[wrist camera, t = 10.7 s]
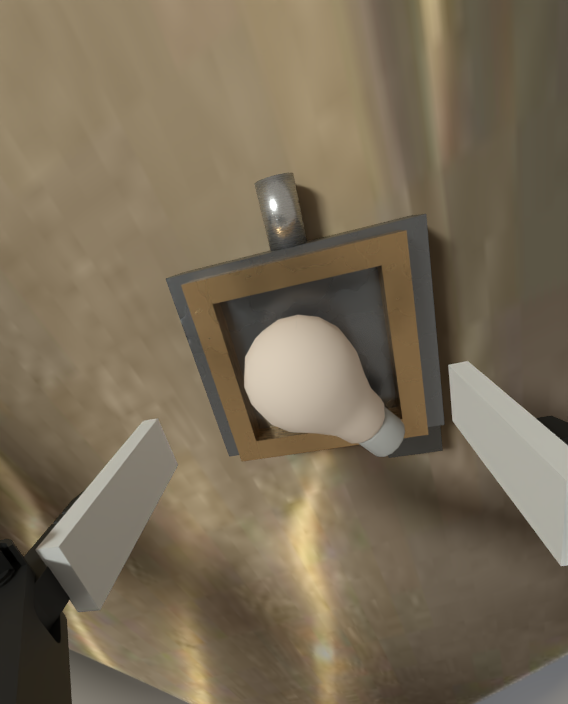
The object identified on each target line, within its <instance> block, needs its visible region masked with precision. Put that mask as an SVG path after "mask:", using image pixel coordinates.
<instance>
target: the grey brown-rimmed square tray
mask: <svg viewBox="0 0 568 704" xmlns="http://www.w3.org/2000/svg"><path fill="white" fill-rule="evenodd" d="M255 189H256V193H257V197H258V201H259V205H260V209H261V213H262V217H263V221H264V225H265V229H266V234H267V238H268V242H269V246H270V250H271V251H267V252H263V253H259V254H255V255H251V256H247V257H243V258H239V259H235V260H231V261H227V262H223V263H219V264H215V265H211V266H207V267H203V268H199V269H195V270H191V271H187V272H183V273H180V274H178V275H175V276H172V277H169V278H166V281H167V284H168V287H169V290H170V292H171V295H172V298H173V301H174V304H175V306H176V309H177V312H178V315H179V318H180V320H181V323H182V326H183V329H184V331H185V334H186V337H187V340H188V343H189V345H190V348H191V351H192V354H193V357H194V359H195V362H196V365H197V368H198V371H199V373H200V376H201V379H202V382H203V385H204V387H205V390H206V393H207V396H208V398H209V401H210V404H211V407H212V410H213V412H214V415H215V418H216V421H217V424H218V426H219V429H220V432H221V435H222V438H223V440H224V443H225V446H226V449H227V452H228V454H229V456H235V455H240V458H241V461H249V460H256V459H263V458H269V457H276V456H283V455H290V454H297V453H304V452H311V451H318V450H325V449H332V448H339V447H346V446H353V445H360V444H359V443H352V444H351V443H349V442H347V441H345V440H343V439H341V438H339V437H337V436H332V435H325V434H315V433H297V432H288V431H286V430H283V429H281V428H279V427H276V426H274V425H272V424H270V423H269V422H268V421H267V420H266V419H265V418H264V417H263V416H262V415H261V414H260V413H259V412H258V411H257V410H256V409H255V408H254V406H253V405H252V404H251V402H250V400H249V397H248V395H247V393H246V390H245V388H244V373H245V356H246V354H247V353H248V351H249V349H250V347H251V345H252V343H253V342H254V340H255V338H256V337H257V336H258V335H259V334H260V333H261V332H262V331H263V330H264V329H266V328H267V327H269V326H270V325H271V324H273V323H274V322H275V321H277V320H278V319H282V318H286V317H290V316H295V315H305V316H315V317H320V318H322V319H324V320H326V321H327V322H329V323H331V324H333V325H335V326H337V327H338V328H339V329H340V330H341V332H342V333H343V334H344V335H345V336H346V338H347V339H348V340H349V341H350V343H351V344H352V346H353V347H354V348H355V350H356V351H357V354H358V356H359V359H360V362H361V365H362V368H363V371H364V374H365V376H366V378H367V380H368V383H369V385H370V387H371V389H372V390H373V391H374V392H375V393H376V394H377V395H378V396H379V397H380V398H381V400H382V401H383V403H384V407H385V408H387V409H388V410H389V411H391V412H392V413H393V414H394V415H396V416H397V417H398V418H400V419H401V421H402V422H403V424H404V427H405V434H404V438H403V441H402V443H401V444H400V446H399V447H398V448H397V449H396V450H395V451H394V452H393V453H392V454H390V455H388V457H389V458H391V457H398V456H406V455H413V454H421V453H428V452H435V451H443V450H442V439H441V429H440V425H444V413H443V402H442V390H441V379H440V367H439V356H438V344H437V333H436V322H435V310H434V299H433V287H432V276H431V264H430V253H429V241H428V230H427V218H426V214H421V215H412V216H407V217H403V218H399V219H395V220H391V221H387V222H383V223H379V224H375V225H371V226H367V227H363V228H359V229H355V230H351V231H347V232H343V233H339V234H335V235H331V236H327V237H323V238H319V239H315V240H311V241H307V238H306V233H305V228H304V223H303V219H302V214H301V209H300V204H299V199H298V194H297V189H296V185H295V180H294V175H293V173H283V174H278V175H274V176H271V177H267V178H265V179H262V180H259V181H257V182H256V183H255Z"/></svg>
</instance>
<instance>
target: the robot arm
mask: <svg viewBox="0 0 568 704" xmlns="http://www.w3.org/2000/svg"><path fill="white" fill-rule="evenodd" d="M448 367H449V380H450V394H451V407H452V420H453V422H454V424H455V425H456V426H457V428H458V429H459V430H460V432H461V433H462V434H463V436H464V437H465V438H466V440H467V441H468V442H469V444H470V445H471V446H472V448H473V449H474V450H475V452H476V453H477V454H478V456H479V457H480V458H481V460H482V461H483V462H484V464H485V465H486V466H487V468H488V469H489V470H490V472H491V473H492V474H493V476H494V477H495V479H496V480H497V481H498V483H499V484H500V485H501V487H502V488H503V489H504V491H505V492H506V493H507V495H508V496H509V497H510V499H511V500H512V501H513V503H514V504H515V505H516V507H517V508H518V509H519V511H520V512H521V513H522V515H523V516H524V517H525V519H526V520H527V521H528V523H529V524H530V525H531V527H532V528H533V529H534V531H535V532H536V533H537V535H538V536H539V537H540V539H541V540H542V541H543V543H544V544H545V546H546V547H547V548H548V550H549V551H550V552H551V554H552V555H553V556H554V558H555V559H556V560H557V562H558V563H559V564H560V566H568V423H567V422H565V421H563V420H560V419H558V418H555V417H553V416H547V417H540V418H535V417H533V416H532V415H531V414H530V413H529V412H527V411H526V410H525V409H524V408H523V407H522V406H520V405H519V404H518V403H517V402H516V401H514V400H513V399H512V398H511V397H510V396H508V395H507V394H506V393H505V392H504V391H503V390H501V389H500V388H499V387H498V386H497V385H495V384H494V383H493V382H492V381H491V380H490V379H488V378H487V377H486V376H485V375H484V374H482V373H481V372H480V371H479V370H478V369H476V368H475V367H474V366H473V365H472V364H471V363H469V362H468V361H466V362H461V363H455V364H450V365H448ZM177 466H178V464H177V462H176V459H175V457H174V455H173V452H172V450H171V448H170V445H169V443H168V441H167V438H166V436H165V434H164V431H163V429H162V427H161V424H160V422H159V420H158V418H157V419H151V420H146V421H143V422H142V423H141V424H140V425H139V426H138V428H137V429H136V430H135V431H134V432H133V434H132V435H131V436H130V437H129V438H128V440H127V441H126V442H125V443H124V444H123V446H122V447H121V448H120V449H119V450H118V452H117V453H116V454H115V455H114V456H113V458H112V459H111V460H110V461H109V462H108V463H107V465H106V466H105V467H104V468H103V469H102V471H101V472H100V473H99V474H98V475H97V477H96V478H95V479H94V480H93V481H92V483H91V484H90V485H89V486H88V487H87V489H85V490H84V491H83V492H82V493H81V494H79V495H78V496H77V497H76V498H74V499H73V500H72V501H71V502H70V504H69V505H68V506H67V507H66V508H65V509H64V511H63V512H62V514H60V515H59V516H58V518H57V519H56V520H55V521H54V524H52V525H51V526H50V527H49V528H48V529H47V530H46V532H45V533H44V534H43V535H42V536H41V537H40V539H39V540H38V541H37V542H36V543H35V545H34V546H33V547H32V548H31V549H30V550H29V552H28V553H27V554H26V555H25V556H24V557H23V555H22V554H21V553H20V551H19V550H18V548H17V547H16V546H15V544H14V543H13V541H12V540H9V539H4V540H0V704H72V699H71V683H70V665H69V647H68V630H67V619H66V617H65V614H64V613H63V612H62V611H63V609H64V607H65V606H66V604H67V603H68V601H69V600H70V601H71V602H72V604H73V605H74V607H75V608H76V610H77V611H78V612H86V611H96V610H100V609H101V607H102V605H103V603H104V602H105V600H106V598H107V596H108V594H109V592H110V590H111V589H112V587H113V585H114V583H115V581H116V579H117V577H118V576H119V574H120V572H121V570H122V568H123V566H124V564H125V563H126V561H127V559H128V557H129V555H130V553H131V551H132V550H133V548H134V546H135V544H136V542H137V540H138V538H139V537H140V535H141V533H142V531H143V529H144V527H145V525H146V524H147V522H148V520H149V518H150V516H151V514H152V512H153V510H154V509H155V507H156V505H157V503H158V501H159V499H160V497H161V496H162V494H163V492H164V490H165V488H166V486H167V484H168V483H169V481H170V479H171V477H172V475H173V473H174V471H175V470H176V468H177Z"/></svg>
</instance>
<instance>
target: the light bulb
mask: <svg viewBox="0 0 568 704" xmlns="http://www.w3.org/2000/svg"><path fill="white" fill-rule="evenodd" d="M244 388H245V390H246V393H247V395H248V397H249V400H250V402H251V404H252V405H253V406H254V408H255V409H256V410H257V411H258V412H259V413H260V414H261V415H262V416H263V417H264V418H265V419H266V420H267V421H268V422H269V423H270V424H272V425H274V426H276V427H279V428H281V429H283V430H286V431H288V432H297V433H315V434H325V435H332V436H337V437H339V438H341V439H343V440H345V441H347V442H349V443H351V444H352V443H359V444H360V445H361V446H363V447H364V448H366V449H367V450H368V451H370V452H371V453H373V454H374V455H376V456H378V457H385V456H387V455H390V454H392V453H393V452H394V451H395V450H396V449H397V448H398V447H399V446H400V444H401V443H402V441H403V438H404V434H405V427H404V424H403V422H402V421H401V419H400V418H398V417H397V416H396V415H394V414H393V413H392V412H391V411H389V410H388V409H387V408H385V407H384V403H383V401H382V400H381V398H380V397H379V396H378V395H377V394H376V393H375V392H374V391H373V390H372V389H371V387H370V385H369V383H368V380H367V378H366V376H365V374H364V371H363V368H362V365H361V362H360V359H359V356H358V354H357V351H356V350H355V348H354V347H353V346H352V344H351V343H350V341H349V340H348V339H347V338H346V336H345V335H344V334H343V333H342V332H341V330H340V329H339V328H338V327H337V326H335V325H333V324H331V323H329V322H327V321H326V320H324V319H322V318H320V317H315V316H305V315H295V316H290V317H286V318H282V319H278V320H277V321H275V322H274V323H273V324H271V325H270V326H269V327H267V328H266V329H264V330H263V331H262V332H261V333H260V334H259V335H258V336H257V337H256V338H255V340H254V342H253V343H252V345H251V347H250V349H249V351H248V353H247V354H246V356H245V373H244Z"/></svg>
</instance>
